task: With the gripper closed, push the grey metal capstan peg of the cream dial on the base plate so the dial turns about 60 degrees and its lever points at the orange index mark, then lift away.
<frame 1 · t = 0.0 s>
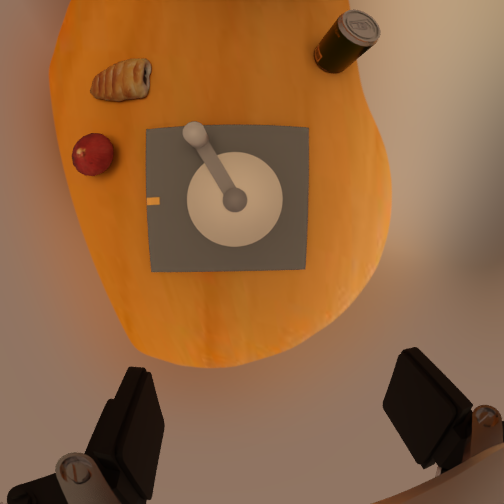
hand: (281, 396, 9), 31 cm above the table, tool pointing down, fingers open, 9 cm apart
dial: (225, 184, 33), point 5 cm above the table, hinge at 0.0°
beer can: (329, 59, 34), on the table
pastry: (127, 84, 33), on the table
onion: (104, 156, 35), on the table
base plate: (227, 198, 38), on the table
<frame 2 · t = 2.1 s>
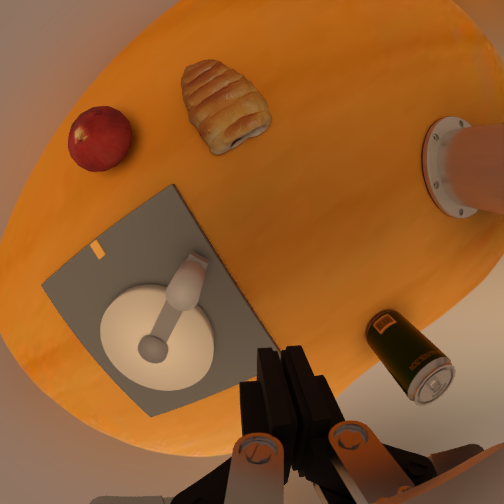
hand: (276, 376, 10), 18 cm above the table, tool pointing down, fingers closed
dial: (158, 338, 24), point 5 cm above the table, hinge at 0.0°
beer can: (382, 327, 31), on the table
pastry: (223, 110, 24), on the table
onion: (116, 143, 24), on the table
base plate: (155, 323, 29), on the table
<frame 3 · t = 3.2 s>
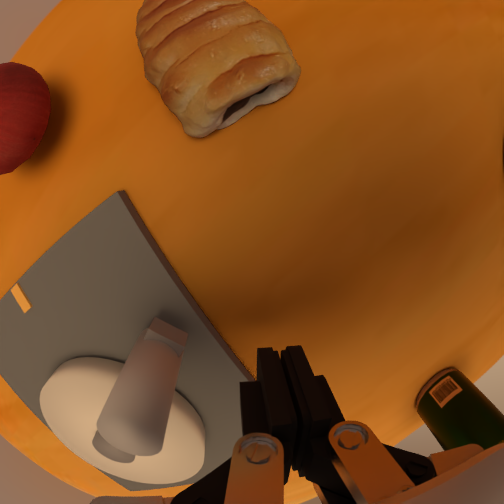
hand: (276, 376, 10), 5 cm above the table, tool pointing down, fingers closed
dial: (116, 444, 12), point 5 cm above the table, hinge at 0.0°
beer can: (435, 388, 19), on the table
pastry: (209, 63, 12), on the table
onion: (41, 126, 12), on the table
base plate: (118, 402, 17), on the table
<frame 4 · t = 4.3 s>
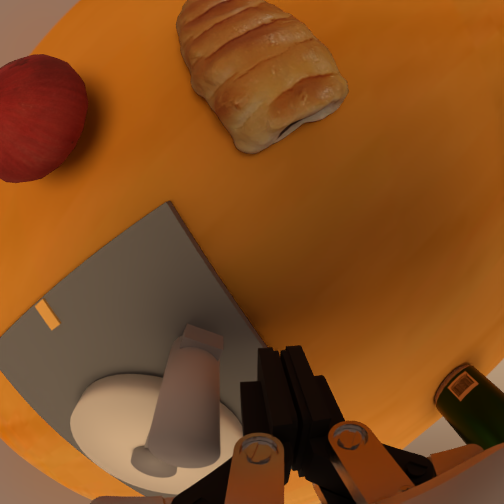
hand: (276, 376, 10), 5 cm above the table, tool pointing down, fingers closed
dial: (158, 460, 12), point 5 cm above the table, hinge at 6.1°, touching gripper
beer can: (451, 384, 20), on the table
pastry: (253, 75, 13), on the table
onion: (68, 128, 12), on the table
base plate: (152, 416, 17), on the table
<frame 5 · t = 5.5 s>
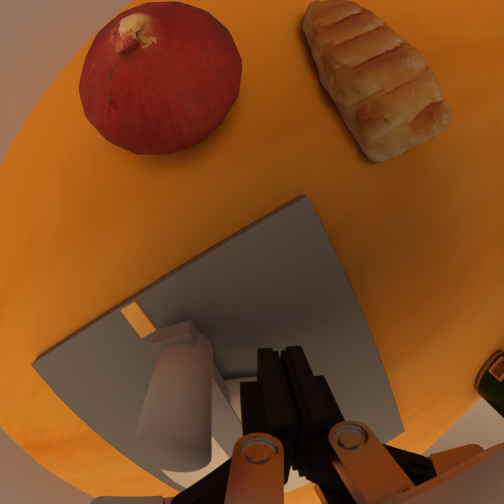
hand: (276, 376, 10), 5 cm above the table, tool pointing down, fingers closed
dial: (241, 466, 12), point 5 cm above the table, hinge at 49.4°, touching gripper
beer can: (488, 369, 20), on the table
pastry: (365, 87, 13), on the table
onion: (176, 104, 12), on the table
base plate: (240, 420, 17), on the table
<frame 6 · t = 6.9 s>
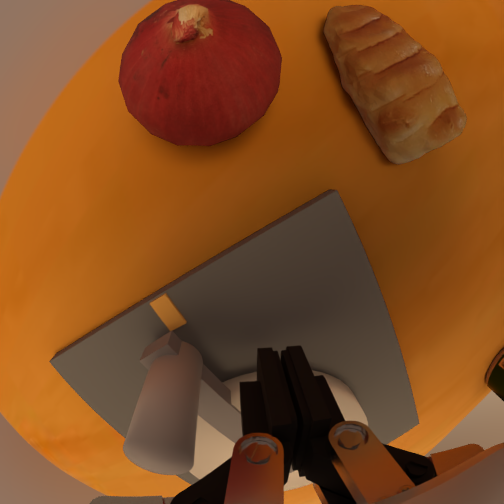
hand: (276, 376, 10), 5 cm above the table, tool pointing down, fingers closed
dial: (259, 461, 12), point 5 cm above the table, hinge at 64.0°
beer can: (498, 363, 20), on the table
pastry: (383, 91, 13), on the table
onion: (206, 98, 12), on the table
base plate: (263, 414, 17), on the table
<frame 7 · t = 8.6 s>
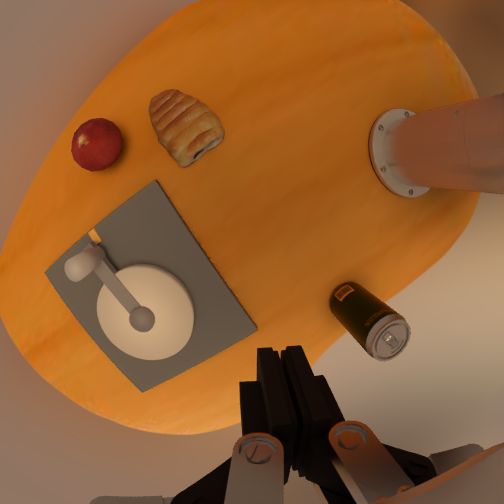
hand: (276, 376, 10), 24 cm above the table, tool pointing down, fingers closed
dial: (126, 308, 28), point 5 cm above the table, hinge at 64.0°
beer can: (345, 298, 37), on the table
pastry: (185, 130, 30), on the table
onion: (109, 148, 29), on the table
base plate: (143, 300, 33), on the table
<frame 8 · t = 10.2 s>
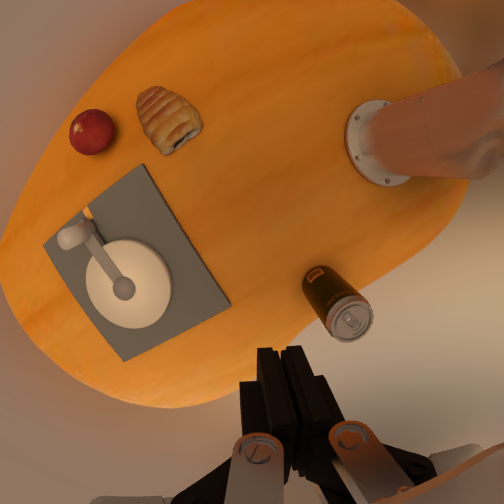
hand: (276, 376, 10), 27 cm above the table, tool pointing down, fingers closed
dial: (110, 277, 31), point 5 cm above the table, hinge at 64.0°
beer can: (319, 282, 39), on the table
pastry: (168, 122, 32), on the table
onion: (103, 135, 32), on the table
base plate: (128, 273, 36), on the table
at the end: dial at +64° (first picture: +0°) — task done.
